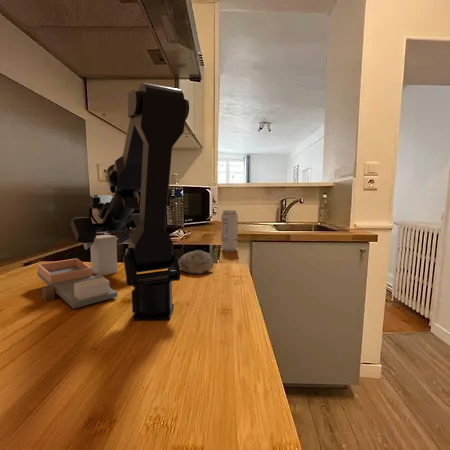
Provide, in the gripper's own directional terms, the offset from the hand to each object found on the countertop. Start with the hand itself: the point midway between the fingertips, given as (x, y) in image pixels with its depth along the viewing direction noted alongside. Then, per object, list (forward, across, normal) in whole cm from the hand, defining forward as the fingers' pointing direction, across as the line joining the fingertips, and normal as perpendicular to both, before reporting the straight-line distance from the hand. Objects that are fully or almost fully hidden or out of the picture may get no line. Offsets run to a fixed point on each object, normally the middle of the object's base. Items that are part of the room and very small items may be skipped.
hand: (102, 245), depth 83 cm
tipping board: (-4, +12, +12) cm, 18 cm away
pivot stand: (-3, +12, +13) cm, 18 cm away
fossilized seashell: (-6, -20, +17) cm, 27 cm away
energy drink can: (+2, -46, +9) cm, 47 cm away
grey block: (+5, 0, +6) cm, 7 cm away
